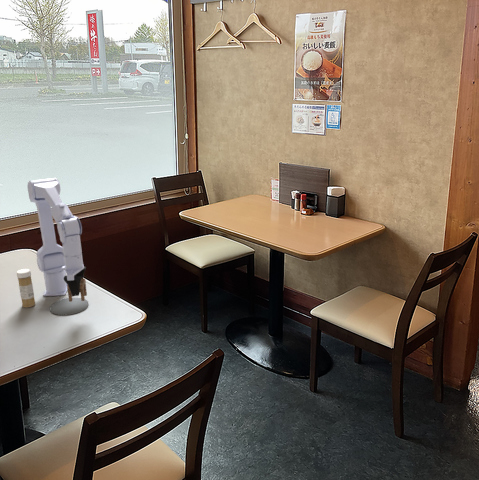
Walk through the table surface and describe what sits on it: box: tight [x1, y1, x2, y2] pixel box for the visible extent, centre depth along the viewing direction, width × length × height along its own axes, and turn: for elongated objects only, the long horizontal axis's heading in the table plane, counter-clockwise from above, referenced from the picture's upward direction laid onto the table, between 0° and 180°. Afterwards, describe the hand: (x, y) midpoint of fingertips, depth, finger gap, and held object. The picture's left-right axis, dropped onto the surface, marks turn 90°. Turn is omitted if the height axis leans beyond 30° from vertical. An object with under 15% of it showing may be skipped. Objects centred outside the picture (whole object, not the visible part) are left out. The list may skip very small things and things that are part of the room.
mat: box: [49, 297, 89, 316], centre depth 181 cm, size 13×13×1 cm
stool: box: [67, 278, 88, 302], centre depth 171 cm, size 5×5×6 cm
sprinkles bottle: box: [16, 268, 36, 308], centre depth 181 cm, size 5×5×14 cm
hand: (77, 291), depth 171 cm, fingers closed on stool, 5 cm apart
